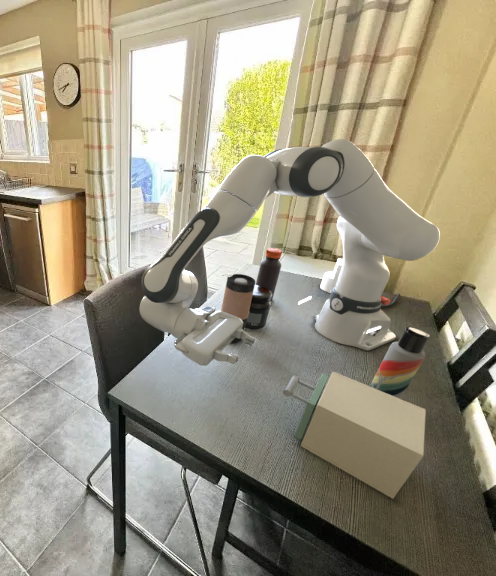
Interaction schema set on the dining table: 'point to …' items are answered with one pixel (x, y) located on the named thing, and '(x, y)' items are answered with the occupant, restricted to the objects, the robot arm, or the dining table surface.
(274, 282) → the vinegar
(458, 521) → the dining table surface
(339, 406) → the matchbox drawer box
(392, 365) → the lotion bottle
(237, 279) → the travel mug
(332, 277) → the cylinder with rectangular tab
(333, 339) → the robot arm
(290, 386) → the green pull-out drawer
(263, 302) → the supplement container
